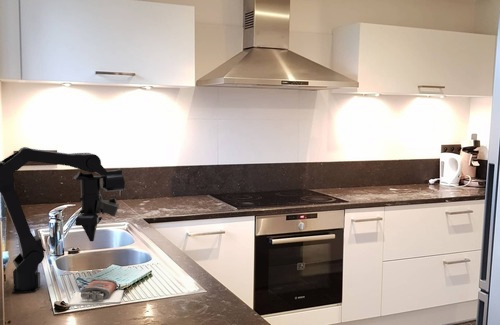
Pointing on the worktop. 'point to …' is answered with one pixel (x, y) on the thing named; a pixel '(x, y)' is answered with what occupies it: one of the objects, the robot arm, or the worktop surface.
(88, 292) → the lighter
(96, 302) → the mat
